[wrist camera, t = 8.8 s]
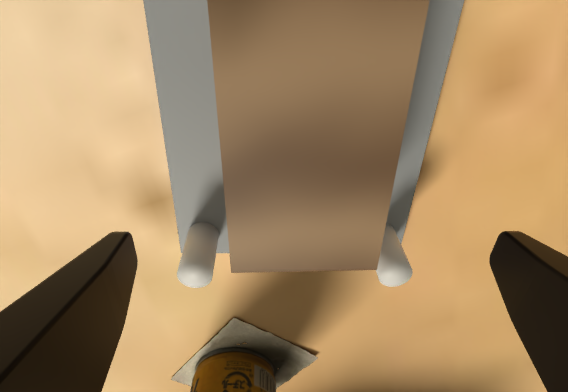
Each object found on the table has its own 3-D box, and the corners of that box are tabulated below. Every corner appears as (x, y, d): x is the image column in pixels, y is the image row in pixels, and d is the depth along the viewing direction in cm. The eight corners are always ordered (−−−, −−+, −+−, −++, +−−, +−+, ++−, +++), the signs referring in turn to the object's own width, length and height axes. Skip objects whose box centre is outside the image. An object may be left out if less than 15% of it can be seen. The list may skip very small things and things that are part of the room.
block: (223, -17, 14) (207, -2, 10) (386, -15, 14) (429, 0, 10) (237, 209, 19) (231, 272, 16) (355, 207, 20) (377, 269, 16)
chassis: (133, -125, 13) (86, -149, 10) (479, -110, 14) (548, -126, 10) (184, 241, 22) (169, 295, 18) (393, 241, 22) (416, 293, 19)
